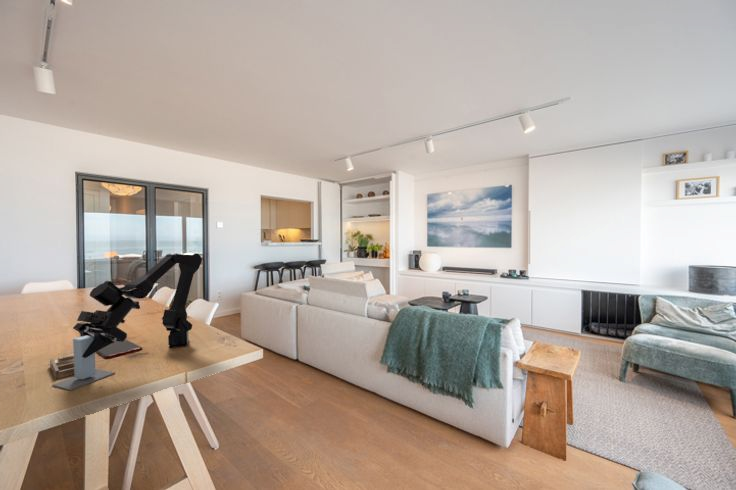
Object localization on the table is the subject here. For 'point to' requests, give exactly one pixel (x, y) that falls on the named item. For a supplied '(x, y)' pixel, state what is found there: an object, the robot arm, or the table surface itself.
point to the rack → (61, 369)
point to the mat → (82, 380)
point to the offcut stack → (65, 359)
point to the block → (81, 364)
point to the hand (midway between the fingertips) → (79, 356)
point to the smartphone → (118, 349)
